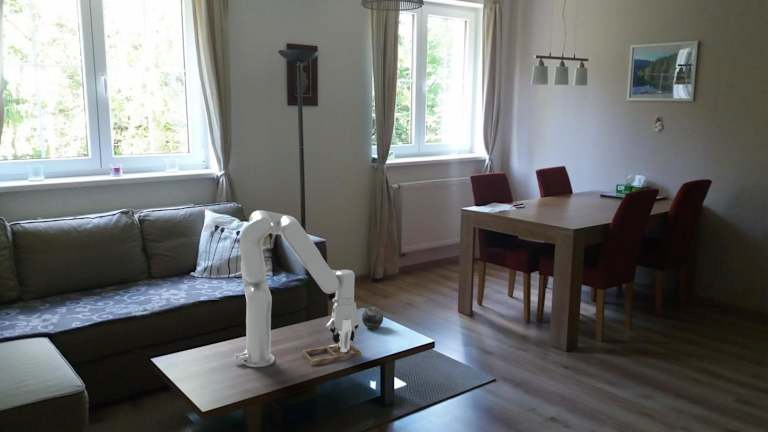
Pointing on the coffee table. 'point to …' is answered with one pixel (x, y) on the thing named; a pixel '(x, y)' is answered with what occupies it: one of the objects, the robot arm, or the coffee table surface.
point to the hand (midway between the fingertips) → (343, 340)
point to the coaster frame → (330, 351)
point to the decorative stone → (372, 317)
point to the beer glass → (344, 337)
